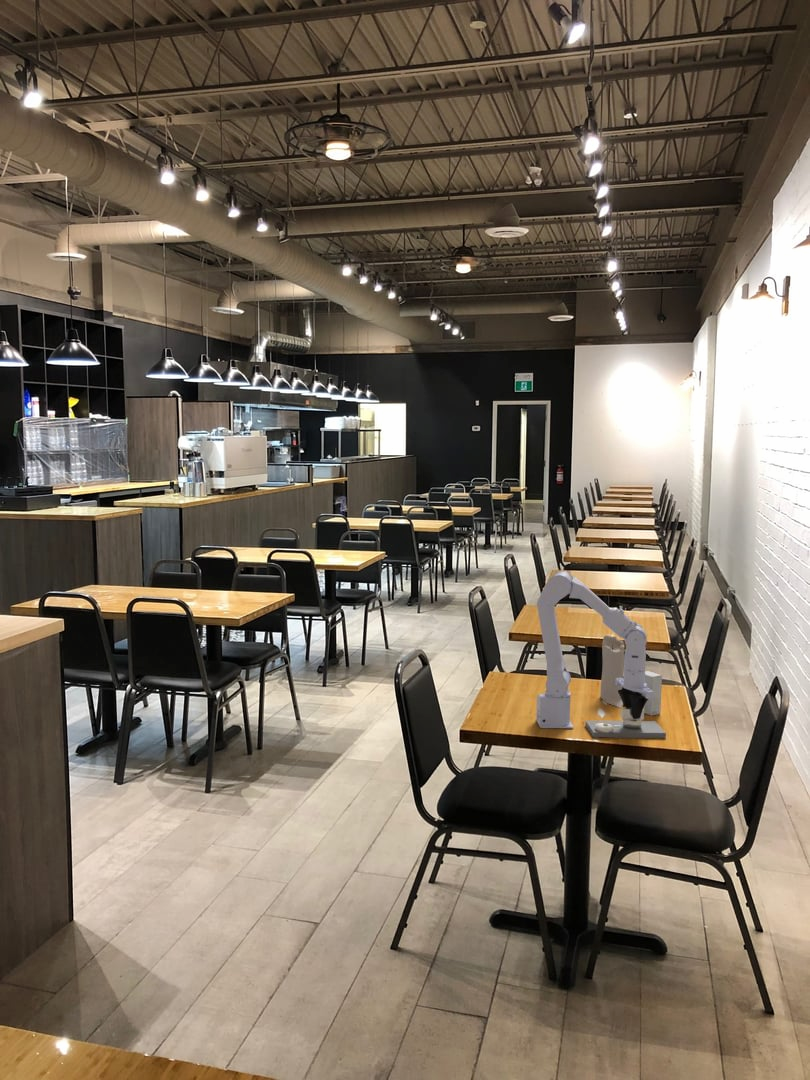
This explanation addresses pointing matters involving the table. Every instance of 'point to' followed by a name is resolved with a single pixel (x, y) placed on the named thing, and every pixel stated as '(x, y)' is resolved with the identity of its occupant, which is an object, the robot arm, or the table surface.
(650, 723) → the base
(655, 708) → the skincare box
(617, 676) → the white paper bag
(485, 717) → the table surface
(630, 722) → the knob
